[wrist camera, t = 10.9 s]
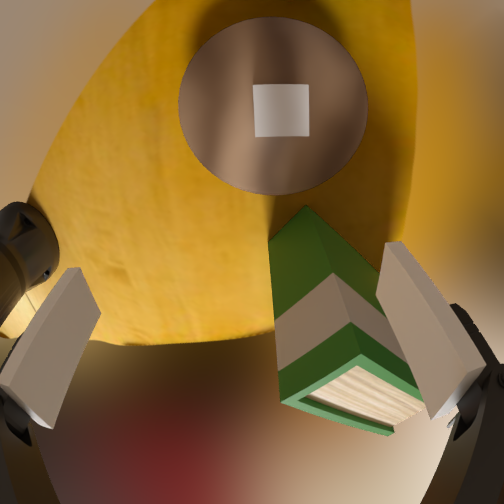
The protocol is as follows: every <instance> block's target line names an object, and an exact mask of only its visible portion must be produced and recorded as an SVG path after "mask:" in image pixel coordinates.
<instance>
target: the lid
mask: <svg viewBox="0 0 504 504" xmlns="http://www.w3.org/2000/svg"><path fill="white" fill-rule="evenodd" d="M178 104H179V117H180V123H181V127H182V130H183V133H184V136H185V138H186V141H187V143H188V145H189V147H190V148H191V150H192V151H193V153H194V155H195V156H196V157H197V159H198V160H199V161H200V162H201V163H202V164H203V166H205V167H206V168H207V169H208V170H209V171H210V172H211V173H212V174H214V175H215V176H216V177H218V178H219V179H221V180H222V181H224V182H226V183H228V184H230V185H231V186H234V187H236V188H239V189H241V190H244V191H248V192H252V193H256V194H263V195H286V194H293V193H297V192H302V191H305V190H308V189H311V188H313V187H315V186H317V185H319V184H321V183H323V182H325V181H326V180H328V179H330V178H331V177H332V176H334V175H335V174H336V173H337V172H339V171H340V170H341V169H342V168H343V167H344V166H345V165H346V164H347V162H348V161H349V160H350V159H351V157H352V156H353V155H354V153H355V152H356V150H357V148H358V146H359V144H360V142H361V140H362V137H363V134H364V132H365V127H366V123H367V116H368V98H367V92H366V87H365V84H364V80H363V77H362V75H361V73H360V71H359V69H358V66H357V64H356V63H355V61H354V60H353V58H352V57H351V55H350V54H349V53H348V52H347V51H346V49H345V48H344V47H343V46H342V45H341V44H340V43H339V42H338V41H336V40H335V39H334V38H333V37H332V36H330V35H329V34H327V33H326V32H324V31H323V30H321V29H319V28H317V27H315V26H313V25H311V24H308V23H305V22H302V21H299V20H295V19H290V18H284V17H260V18H254V19H249V20H245V21H242V22H239V23H236V24H233V25H231V26H229V27H227V28H225V29H223V30H221V31H220V32H219V33H217V34H216V35H214V36H213V37H211V38H210V39H209V40H208V41H207V42H206V43H205V44H204V45H203V46H202V47H201V48H200V49H199V50H198V52H197V53H196V54H195V55H194V57H193V58H192V60H191V62H190V63H189V65H188V67H187V69H186V71H185V74H184V76H183V79H182V83H181V86H180V92H179V100H178Z"/></svg>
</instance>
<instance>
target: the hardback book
mask: <svg viewBox="0 0 504 504" xmlns="http://www.w3.org/2000/svg"><path fill="white" fill-rule="evenodd" d="M268 250H269V262H270V274H271V285H272V298H273V310H274V323H275V336H276V349H277V363H278V377H279V392H280V402H281V403H283V404H286V405H289V406H292V407H294V408H297V409H300V410H302V411H305V412H308V413H311V414H314V415H317V416H320V417H323V418H326V419H329V420H332V421H335V422H338V423H342V424H345V425H348V426H352V427H355V428H359V429H362V430H366V431H370V432H373V433H377V434H381V435H385V436H389V435H391V434H393V433H394V429H393V426H394V425H396V424H398V423H400V422H402V421H404V420H406V419H407V418H409V417H411V416H413V415H414V414H416V413H418V412H419V411H421V410H423V409H424V408H426V406H425V403H424V401H423V398H422V396H421V393H420V391H419V388H418V386H417V383H416V381H415V379H414V376H413V374H412V371H411V369H410V367H409V364H408V362H407V360H406V358H405V355H404V353H403V351H402V349H401V346H400V344H399V342H398V340H397V338H396V336H395V333H394V331H393V329H392V327H391V325H390V323H389V321H388V319H387V317H386V315H385V313H384V311H383V309H382V306H381V304H380V303H379V301H378V299H377V297H376V290H377V286H378V281H379V276H380V274H379V273H378V272H377V271H376V270H375V269H374V268H373V267H372V266H371V265H370V264H369V263H368V262H367V261H366V260H365V259H364V258H363V257H362V256H361V255H360V254H359V253H358V252H357V251H356V250H355V249H354V248H353V247H352V246H351V245H350V244H349V243H348V242H346V241H345V240H344V239H343V238H342V237H341V236H340V235H339V234H338V233H337V232H336V231H335V230H334V229H333V228H331V227H330V226H329V225H328V224H327V223H326V222H325V221H324V220H323V219H322V218H320V217H319V216H318V215H317V214H316V213H315V212H314V211H313V210H312V209H310V208H309V207H308V206H307V205H305V206H304V207H303V208H302V209H301V210H300V211H299V212H298V213H297V214H296V215H295V216H294V217H293V218H292V219H291V220H290V221H289V222H288V223H287V224H286V225H285V226H284V227H283V228H282V229H281V230H280V231H279V232H278V233H277V234H276V235H275V236H274V237H273V238H272V239H271V240H270V241H269V242H268Z"/></svg>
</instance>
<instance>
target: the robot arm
mask: <svg viewBox="0 0 504 504" xmlns="http://www.w3.org/2000/svg"><path fill="white" fill-rule="evenodd" d="M58 264H59V247H58V243H57V240H56V237H55V234H54V232H53V230H52V228H51V227H50V225H49V223H48V222H47V220H46V219H45V218H44V217H43V216H42V214H41V213H40V212H39V211H37V210H36V209H35V208H34V207H32V206H30V205H29V204H26V203H23V202H13V203H10V204H8V205H7V206H6V207H4V208H3V209H2V210H1V211H0V327H1V325H2V324H3V322H4V321H5V320H6V318H7V317H8V315H9V314H10V312H11V311H12V310H13V308H14V307H15V305H16V304H17V303H18V301H19V300H20V299H21V297H22V296H23V295H24V294H25V292H27V291H29V290H31V289H33V288H34V287H36V286H38V285H40V284H42V283H43V282H45V281H47V280H48V279H49V278H50V277H51V275H52V274H53V273H54V272H55V270H56V269H57V267H58ZM376 297H377V299H378V301H379V303H380V304H381V306H382V309H383V311H384V313H385V315H386V317H387V319H388V321H389V323H390V325H391V327H392V329H393V331H394V333H395V336H396V338H397V340H398V342H399V344H400V346H401V349H402V351H403V353H404V355H405V358H406V360H407V362H408V364H409V367H410V369H411V371H412V374H413V376H414V379H415V381H416V383H417V386H418V388H419V391H420V393H421V396H422V398H423V401H424V403H425V406H426V408H427V411H428V414H429V417H430V419H431V420H433V419H436V418H439V417H441V416H444V415H447V414H449V413H450V412H451V411H452V409H453V408H454V407H455V406H456V405H457V407H458V409H459V412H458V413H457V414H456V416H455V417H454V418H453V419H452V420H451V421H450V422H449V424H448V425H447V428H449V427H450V426H451V425H452V424H453V423H454V424H453V428H452V431H451V434H450V436H449V439H448V442H447V445H446V447H445V450H444V453H443V455H442V458H441V460H440V463H439V465H438V467H437V470H436V472H435V474H434V476H433V479H432V481H431V483H430V485H429V487H428V489H427V491H426V494H425V496H424V497H423V499H422V501H421V503H420V504H504V364H500V363H499V361H498V360H497V358H496V357H495V355H494V353H493V352H492V350H491V348H490V347H489V345H488V343H487V342H486V340H485V339H484V337H483V336H482V334H481V333H480V332H479V329H478V328H477V326H476V325H475V324H473V321H472V319H471V318H470V316H469V315H468V313H467V312H466V311H465V310H464V309H463V308H461V307H460V306H459V305H457V304H456V303H455V304H450V305H449V304H448V303H447V301H446V300H445V298H444V297H443V296H442V294H441V293H440V291H439V290H438V289H437V287H436V286H435V285H434V283H433V282H432V280H431V279H430V278H429V276H428V275H427V274H426V272H425V271H424V270H423V268H422V267H421V266H420V264H419V263H418V262H417V260H416V259H415V258H414V257H413V255H412V254H411V253H410V252H409V250H408V249H407V248H406V247H405V245H404V244H403V243H402V242H401V241H399V242H387V243H385V248H384V254H383V260H382V265H381V270H380V276H379V281H378V286H377V290H376ZM100 315H101V312H100V310H99V308H98V306H97V304H96V302H95V300H94V297H93V295H92V293H91V291H90V289H89V287H88V284H87V282H86V280H85V278H84V275H83V273H82V271H81V268H80V267H78V268H67V270H66V271H65V272H64V274H63V275H62V277H61V278H60V279H59V281H58V282H57V283H56V285H55V286H54V288H53V289H52V290H51V292H50V293H49V295H48V296H47V298H46V299H45V301H44V302H43V303H42V305H41V306H40V308H39V309H38V311H37V312H36V314H35V316H34V317H33V319H32V320H31V322H30V323H29V325H28V327H27V328H26V330H25V331H24V332H23V333H22V334H21V335H20V336H19V337H18V338H17V340H16V342H15V344H14V345H13V347H12V350H10V352H9V354H8V357H7V358H6V359H5V361H4V363H3V365H2V366H1V368H0V504H60V502H59V499H58V497H57V495H56V493H55V490H54V488H53V485H52V483H51V480H50V478H49V475H48V472H47V470H46V467H45V464H44V461H43V458H42V455H41V452H40V449H39V446H38V443H37V439H36V436H35V432H34V429H33V426H32V424H31V423H29V420H30V417H31V418H32V419H33V420H34V421H36V422H37V423H38V424H39V425H42V426H44V427H47V428H51V429H53V428H54V425H55V421H56V419H57V416H58V413H59V410H60V407H61V405H62V402H63V400H64V397H65V394H66V392H67V389H68V387H69V384H70V382H71V379H72V377H73V374H74V372H75V370H76V367H77V365H78V362H79V360H80V358H81V356H82V353H83V350H84V349H85V347H86V344H87V342H88V340H89V338H90V336H91V333H92V331H93V329H94V327H95V325H96V323H97V321H98V319H99V317H100Z"/></svg>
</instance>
